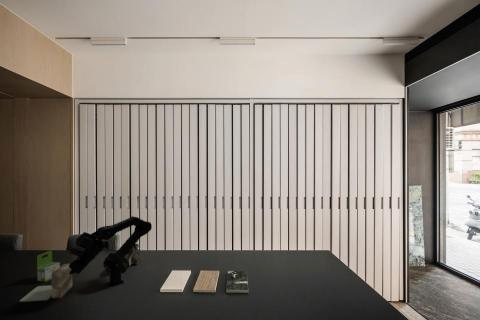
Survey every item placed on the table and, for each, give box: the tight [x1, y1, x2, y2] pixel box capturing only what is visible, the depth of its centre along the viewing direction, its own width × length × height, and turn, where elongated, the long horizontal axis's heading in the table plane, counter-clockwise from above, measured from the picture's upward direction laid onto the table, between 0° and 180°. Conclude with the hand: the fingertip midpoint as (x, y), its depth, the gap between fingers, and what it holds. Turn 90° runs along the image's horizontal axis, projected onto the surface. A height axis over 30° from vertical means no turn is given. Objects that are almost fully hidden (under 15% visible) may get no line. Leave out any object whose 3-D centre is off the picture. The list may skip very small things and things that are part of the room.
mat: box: [19, 284, 52, 303], centre depth 145 cm, size 12×15×1 cm
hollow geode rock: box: [121, 240, 143, 272], centre depth 181 cm, size 28×13×15 cm
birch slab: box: [51, 263, 73, 299], centre depth 146 cm, size 4×12×12 cm, turn 7°
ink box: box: [36, 249, 61, 283], centre depth 163 cm, size 10×5×14 cm, turn 168°
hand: (70, 273), depth 146 cm, fingers closed
